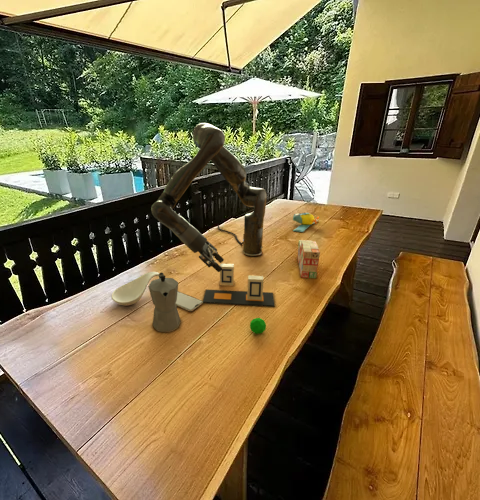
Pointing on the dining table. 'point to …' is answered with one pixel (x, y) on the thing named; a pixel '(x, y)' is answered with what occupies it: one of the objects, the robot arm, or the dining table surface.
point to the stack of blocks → (308, 258)
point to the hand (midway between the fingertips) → (221, 265)
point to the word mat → (237, 298)
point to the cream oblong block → (227, 274)
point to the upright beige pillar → (255, 287)
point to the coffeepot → (164, 303)
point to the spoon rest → (132, 290)
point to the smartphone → (187, 301)
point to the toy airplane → (304, 221)
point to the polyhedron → (257, 325)
